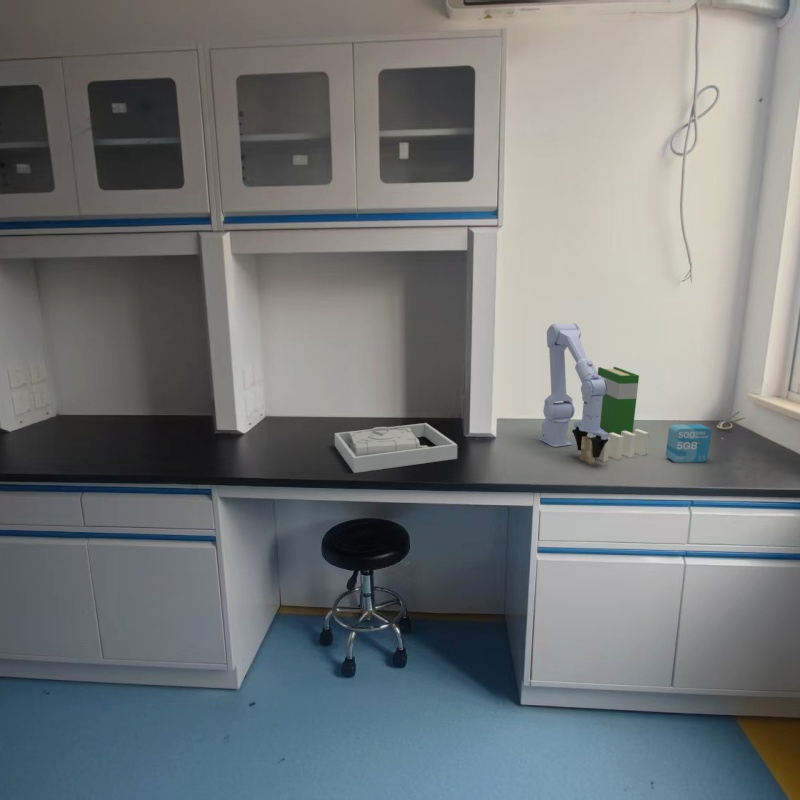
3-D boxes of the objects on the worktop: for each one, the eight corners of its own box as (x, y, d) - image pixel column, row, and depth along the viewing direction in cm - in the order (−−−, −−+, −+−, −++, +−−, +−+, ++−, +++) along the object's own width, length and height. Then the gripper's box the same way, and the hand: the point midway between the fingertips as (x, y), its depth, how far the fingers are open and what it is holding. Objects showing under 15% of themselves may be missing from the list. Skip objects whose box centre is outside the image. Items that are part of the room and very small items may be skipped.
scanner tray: (335, 446, 188) (334, 433, 187) (426, 435, 200) (426, 423, 199) (354, 472, 163) (353, 458, 162) (457, 458, 175) (457, 444, 174)
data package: (671, 462, 170) (676, 428, 167) (664, 458, 175) (669, 424, 172) (707, 462, 171) (712, 428, 168) (699, 457, 175) (704, 424, 172)
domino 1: (580, 458, 174) (582, 436, 172) (585, 458, 175) (587, 436, 173) (589, 463, 170) (591, 441, 168) (594, 463, 171) (596, 440, 169)
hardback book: (593, 423, 214) (598, 367, 208) (610, 423, 215) (615, 366, 209) (613, 436, 197) (620, 375, 191) (632, 436, 198) (639, 375, 192)
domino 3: (606, 454, 178) (608, 433, 176) (611, 454, 179) (613, 432, 177) (616, 459, 174) (618, 437, 172) (621, 458, 174) (623, 436, 172)
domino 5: (631, 451, 181) (633, 429, 180) (635, 450, 182) (638, 429, 180) (641, 455, 177) (644, 433, 175) (646, 454, 178) (649, 432, 176)
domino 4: (619, 453, 180) (621, 431, 178) (623, 452, 180) (625, 430, 178) (629, 457, 175) (631, 435, 173) (633, 456, 176) (636, 434, 174)
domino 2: (593, 456, 176) (595, 434, 174) (598, 456, 177) (600, 434, 175) (603, 461, 172) (605, 439, 170) (608, 460, 172) (610, 438, 170)
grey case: (435, 458, 176) (435, 437, 175) (354, 464, 171) (353, 443, 169) (421, 441, 195) (421, 422, 193) (348, 447, 189) (347, 427, 188)
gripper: (567, 410, 174) (564, 448, 177) (597, 421, 160) (593, 462, 164) (584, 408, 176) (581, 445, 179) (615, 419, 163) (610, 459, 166)
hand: (588, 453), depth 172 cm, fingers open, 7 cm apart
